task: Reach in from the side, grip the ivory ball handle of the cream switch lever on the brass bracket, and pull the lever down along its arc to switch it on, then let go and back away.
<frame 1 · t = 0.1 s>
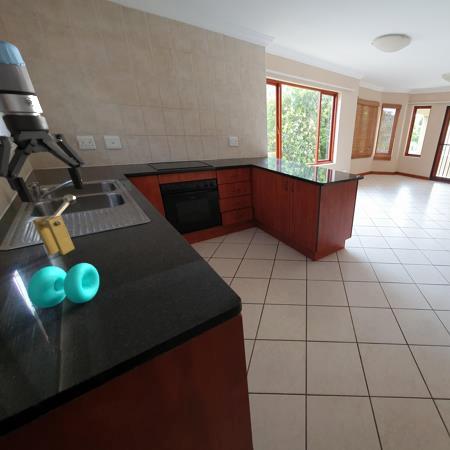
hand: (56, 195, 69), 23 cm above the counter, tool pointing down, fingers open, 13 cm apart
bracket: (63, 254, 82), on the counter
donuts: (74, 301, 61), on the counter
lever: (60, 210, 81), point 15 cm above the counter, hinge at 28.0°
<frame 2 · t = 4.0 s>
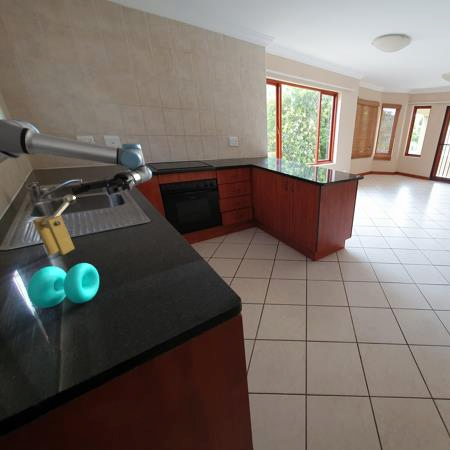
hand: (90, 191, 93), 17 cm above the counter, tool horizontal, fingers open, 13 cm apart
nothing on the counter moved.
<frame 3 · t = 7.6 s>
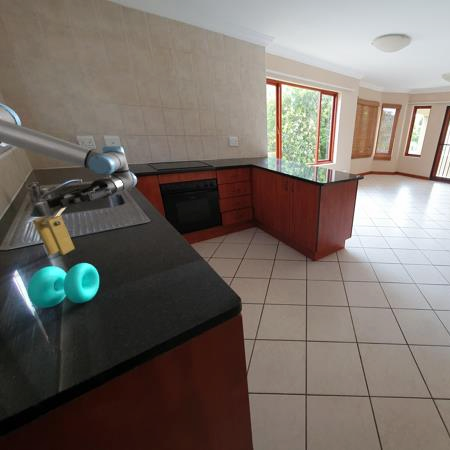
hand: (55, 204, 79), 17 cm above the counter, tool horizontal, fingers closed on lever, 3 cm apart
lever: (60, 210, 81), point 15 cm above the counter, hinge at 28.0°, touching gripper
everything else where it was.
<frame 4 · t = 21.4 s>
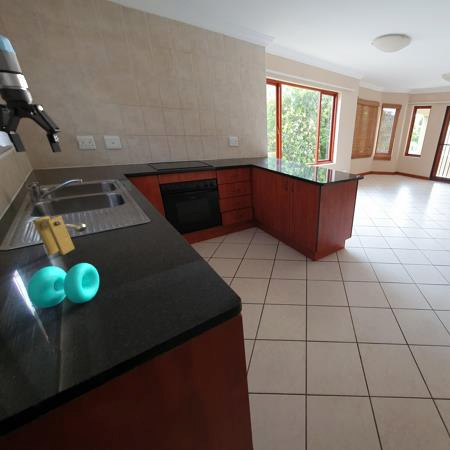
hand: (39, 152, 91), 32 cm above the counter, tool pointing down, fingers open, 13 cm apart
lever: (66, 225, 83), point 9 cm above the counter, hinge at -31.3°
everything else where it was.
at the end: lever at -31° (first picture: +28°); the gripper is holding nothing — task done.
